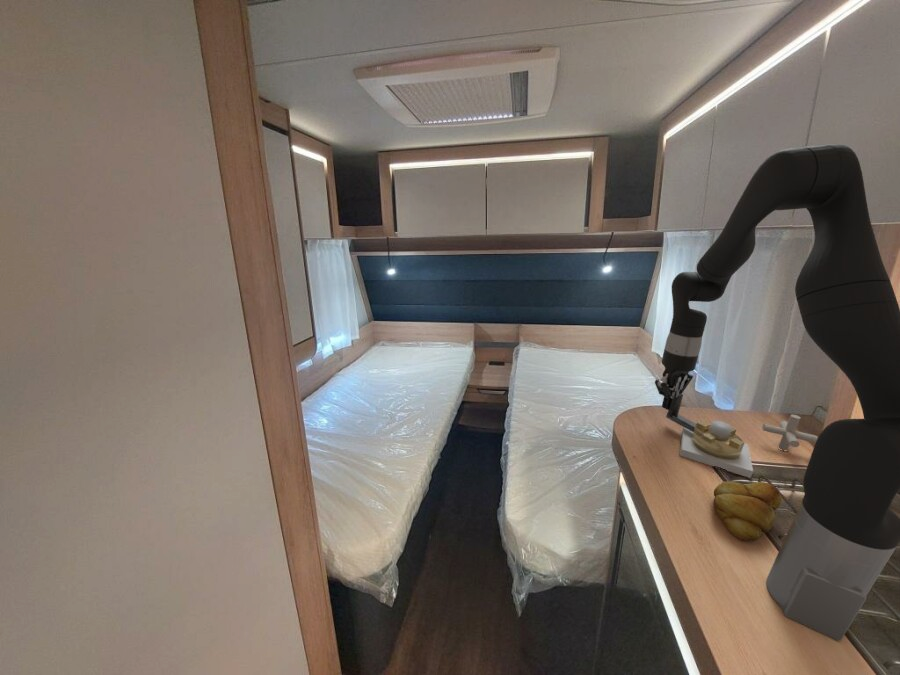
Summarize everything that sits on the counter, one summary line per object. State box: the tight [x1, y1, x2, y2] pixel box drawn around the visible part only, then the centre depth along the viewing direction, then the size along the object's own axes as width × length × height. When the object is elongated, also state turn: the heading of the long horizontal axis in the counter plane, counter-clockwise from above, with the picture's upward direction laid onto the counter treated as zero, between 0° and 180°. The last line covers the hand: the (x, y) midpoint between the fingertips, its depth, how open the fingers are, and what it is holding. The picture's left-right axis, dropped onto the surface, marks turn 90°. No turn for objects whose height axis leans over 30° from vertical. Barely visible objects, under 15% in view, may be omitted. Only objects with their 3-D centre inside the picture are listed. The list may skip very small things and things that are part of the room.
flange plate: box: [679, 420, 754, 479], centre depth 87 cm, size 12×14×8 cm
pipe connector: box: [762, 414, 819, 451], centre depth 88 cm, size 10×10×10 cm
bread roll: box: [713, 480, 783, 542], centre depth 68 cm, size 13×10×8 cm
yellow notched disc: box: [665, 393, 745, 459], centre depth 90 cm, size 18×10×9 cm, turn 23°
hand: (667, 408), depth 95 cm, fingers closed
